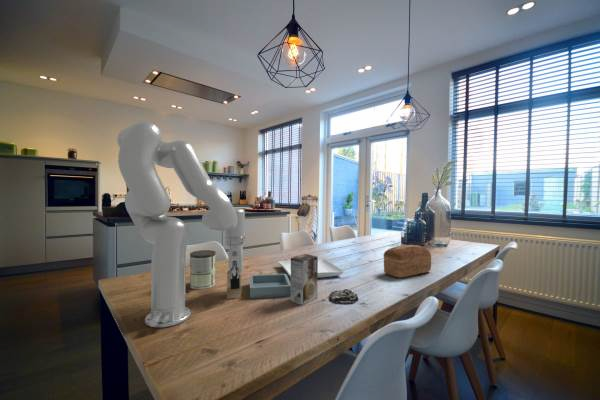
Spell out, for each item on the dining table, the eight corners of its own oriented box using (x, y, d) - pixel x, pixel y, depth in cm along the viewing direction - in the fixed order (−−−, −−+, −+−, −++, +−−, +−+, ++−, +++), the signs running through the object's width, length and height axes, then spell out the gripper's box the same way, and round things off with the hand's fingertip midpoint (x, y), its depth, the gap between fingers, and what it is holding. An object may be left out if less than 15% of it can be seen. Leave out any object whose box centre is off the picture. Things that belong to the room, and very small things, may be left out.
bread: (379, 274, 132) (379, 246, 132) (414, 267, 146) (415, 241, 146) (398, 280, 122) (399, 250, 121) (434, 272, 136) (435, 245, 136)
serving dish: (291, 296, 101) (291, 285, 101) (249, 298, 98) (249, 287, 98) (286, 282, 116) (286, 273, 116) (249, 284, 113) (250, 275, 113)
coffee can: (187, 284, 113) (187, 251, 112) (210, 279, 119) (211, 249, 119) (193, 291, 104) (193, 256, 104) (218, 286, 110) (218, 253, 110)
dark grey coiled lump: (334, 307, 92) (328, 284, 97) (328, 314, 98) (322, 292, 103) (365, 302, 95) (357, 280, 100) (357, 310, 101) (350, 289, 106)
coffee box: (304, 294, 103) (305, 253, 103) (317, 298, 99) (318, 256, 99) (289, 300, 96) (290, 257, 96) (303, 305, 92) (303, 260, 92)
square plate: (277, 267, 142) (277, 260, 142) (323, 264, 151) (323, 257, 151) (290, 283, 117) (290, 274, 117) (345, 278, 125) (345, 270, 125)
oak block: (240, 297, 98) (240, 274, 98) (226, 298, 97) (227, 274, 97) (240, 292, 103) (241, 270, 103) (227, 293, 102) (228, 270, 102)
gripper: (244, 244, 93) (245, 291, 93) (245, 236, 109) (245, 276, 110) (222, 245, 91) (223, 293, 92) (227, 237, 108) (227, 277, 109)
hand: (235, 284), depth 101 cm, fingers open, 9 cm apart
